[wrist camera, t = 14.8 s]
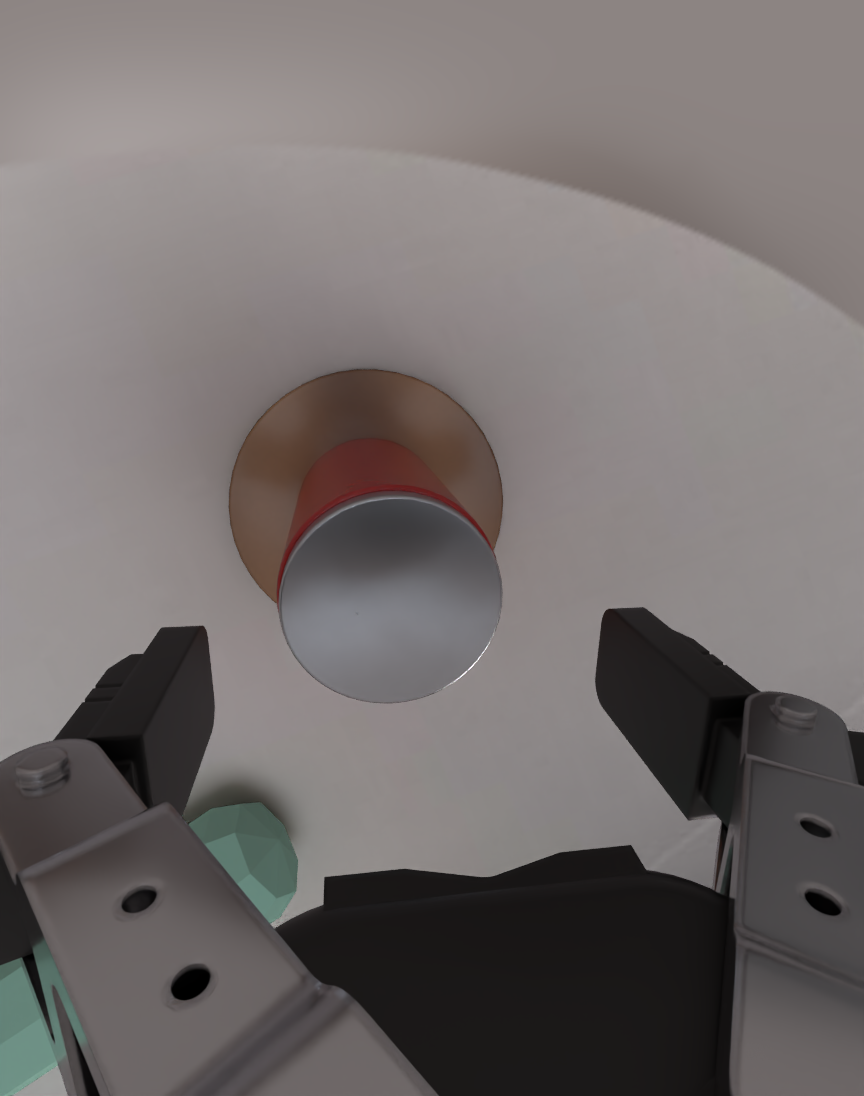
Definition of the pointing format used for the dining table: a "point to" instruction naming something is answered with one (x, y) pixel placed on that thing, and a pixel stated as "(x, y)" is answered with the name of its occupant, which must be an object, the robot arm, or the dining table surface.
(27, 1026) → the container
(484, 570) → the can
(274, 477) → the coaster
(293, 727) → the dining table surface
